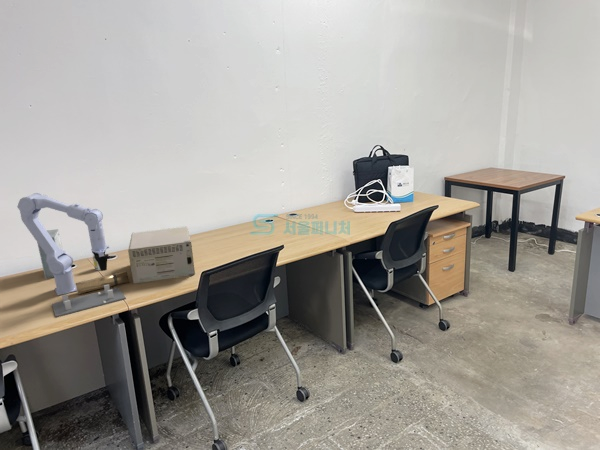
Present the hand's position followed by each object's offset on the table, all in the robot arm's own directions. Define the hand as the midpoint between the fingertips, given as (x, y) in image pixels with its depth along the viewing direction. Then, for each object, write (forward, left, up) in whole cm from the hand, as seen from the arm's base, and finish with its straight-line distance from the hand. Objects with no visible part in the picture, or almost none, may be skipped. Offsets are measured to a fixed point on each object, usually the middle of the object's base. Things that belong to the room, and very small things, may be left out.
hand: (102, 267), depth 195 cm
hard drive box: (-39, -16, -10) cm, 43 cm away
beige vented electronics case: (-7, +28, -10) cm, 31 cm away
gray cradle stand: (+11, -9, -10) cm, 17 cm away
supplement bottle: (-29, +3, -10) cm, 31 cm away
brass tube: (-1, -1, -10) cm, 10 cm away
